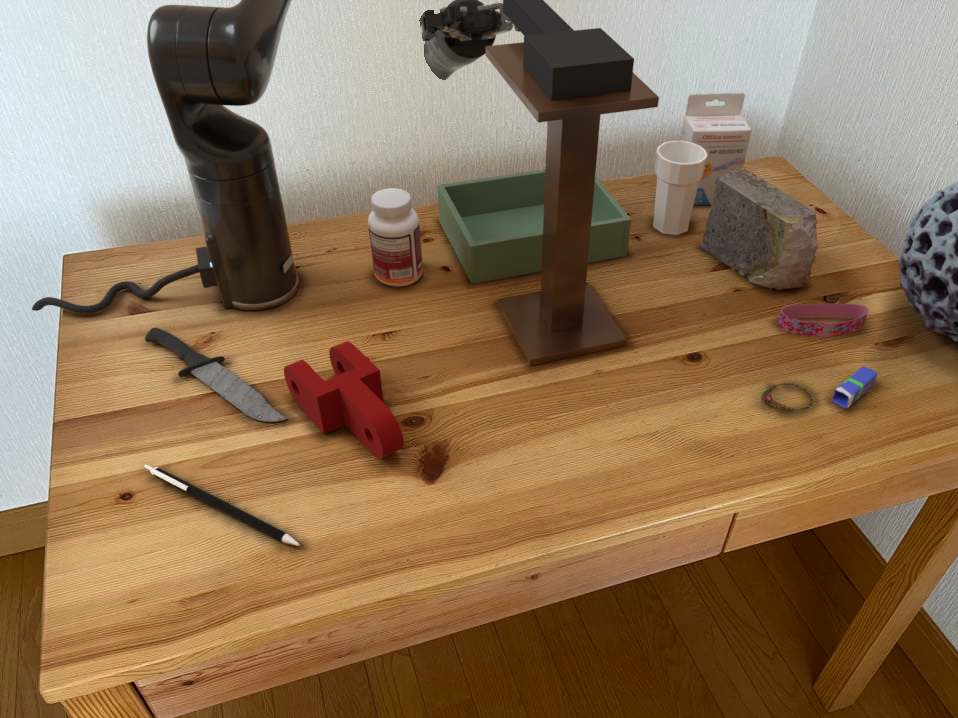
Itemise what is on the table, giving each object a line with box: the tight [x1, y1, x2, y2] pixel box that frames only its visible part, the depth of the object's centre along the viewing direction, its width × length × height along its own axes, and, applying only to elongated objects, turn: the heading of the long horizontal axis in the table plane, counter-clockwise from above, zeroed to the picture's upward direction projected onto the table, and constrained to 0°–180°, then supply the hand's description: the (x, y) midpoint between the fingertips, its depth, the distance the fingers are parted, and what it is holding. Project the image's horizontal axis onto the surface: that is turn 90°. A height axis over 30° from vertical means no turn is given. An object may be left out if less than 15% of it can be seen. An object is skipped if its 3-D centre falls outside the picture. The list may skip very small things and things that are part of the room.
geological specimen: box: [699, 168, 819, 291], centre depth 110 cm, size 11×6×15 cm
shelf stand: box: [485, 41, 660, 367], centre depth 94 cm, size 12×16×30 cm
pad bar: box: [502, 0, 635, 100], centre depth 86 cm, size 8×22×3 cm, turn 20°
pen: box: [143, 463, 301, 547], centre depth 81 cm, size 1×19×1 cm
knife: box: [144, 327, 288, 423], centre depth 94 cm, size 22×1×5 cm
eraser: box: [832, 365, 878, 410], centre depth 95 cm, size 2×6×2 cm
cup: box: [652, 140, 708, 236], centre depth 117 cm, size 7×7×11 cm
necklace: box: [760, 383, 813, 413], centre depth 94 cm, size 4×6×1 cm, turn 110°
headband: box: [776, 303, 870, 338], centre depth 104 cm, size 11×4×2 cm, turn 94°
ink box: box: [679, 92, 752, 206], centre depth 121 cm, size 8×5×15 cm, turn 98°
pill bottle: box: [367, 187, 424, 287], centre depth 106 cm, size 6×6×11 cm
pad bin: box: [437, 168, 632, 285], centre depth 115 cm, size 22×16×6 cm
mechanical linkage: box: [283, 340, 405, 460], centre depth 88 cm, size 16×7×5 cm, turn 39°
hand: (492, 7), depth 102 cm, fingers open, 8 cm apart
